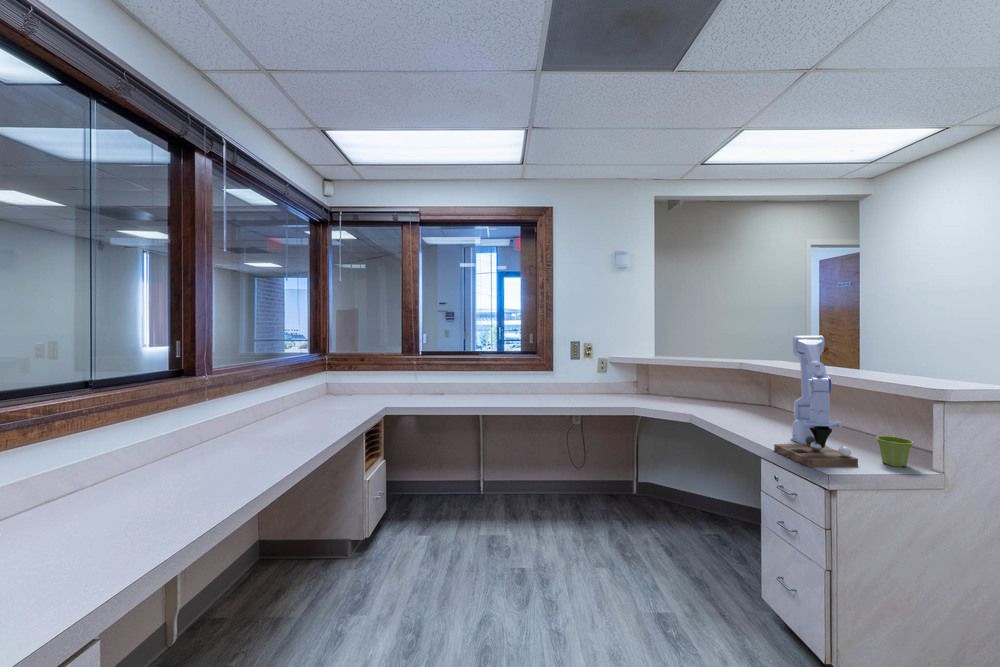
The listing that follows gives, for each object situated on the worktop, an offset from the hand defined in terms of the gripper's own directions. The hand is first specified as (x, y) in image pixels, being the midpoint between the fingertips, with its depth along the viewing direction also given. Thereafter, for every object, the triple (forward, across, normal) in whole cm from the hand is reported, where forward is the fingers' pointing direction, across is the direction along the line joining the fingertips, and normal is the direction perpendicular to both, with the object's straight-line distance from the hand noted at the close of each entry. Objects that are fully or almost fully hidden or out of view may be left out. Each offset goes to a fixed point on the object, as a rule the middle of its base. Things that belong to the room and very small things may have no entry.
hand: (820, 447), depth 151 cm
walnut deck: (+4, -2, +1) cm, 5 cm away
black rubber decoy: (0, +2, +7) cm, 7 cm away
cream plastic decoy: (0, +4, -6) cm, 7 cm away
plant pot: (+4, +20, -8) cm, 22 cm away
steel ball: (0, -1, 0) cm, 1 cm away
